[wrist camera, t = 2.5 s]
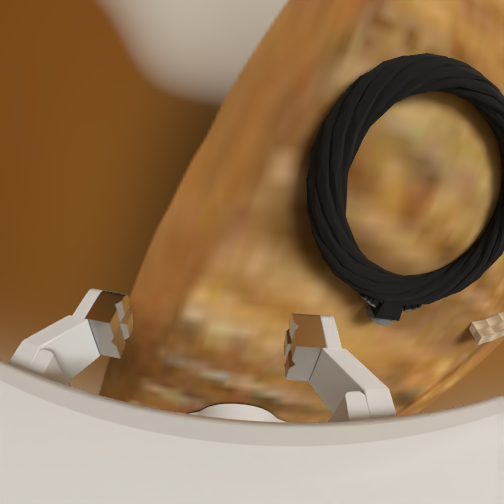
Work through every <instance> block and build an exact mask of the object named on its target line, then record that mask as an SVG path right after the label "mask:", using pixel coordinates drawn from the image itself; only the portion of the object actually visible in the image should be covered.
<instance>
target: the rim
mask: <svg viewBox="0 0 504 504" xmlns="http://www.w3.org/2000/svg"><path fill="white" fill-rule="evenodd" d="M469 330H470V332H471V333H472V335H473V337H474V339H475V340H476V342H477V344H481V343H485V342H489V341H492V340H494V339H497V338H499V337H501V336H504V311H503V312H501V313H499V314H497V315H495V316H492V317H490V318H487V319H484V320H479V321H474V322H472V323H471V325H470V327H469Z"/></svg>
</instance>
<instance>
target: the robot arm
mask: <svg viewBox="0 0 504 504" xmlns="http://www.w3.org/2000/svg"><path fill="white" fill-rule="evenodd" d="M129 305H130V299H129V296H128V295H126V294H120V293H115V292H110V291H103V290H98V289H90V290H89V291H88V292H87V294H86V296H85V297H84V298H83V300H82V301H81V303H80V305H79V306H78V308H77V309H76V311H75V312H74V314H73V315H72V316H70V315H69V316H67V317H65V318H63V319H61V320H59V321H57V322H56V323H54V324H52V325H50V326H48V327H47V328H45V329H43V330H41V331H39V332H38V333H36V334H34V335H32V336H30V337H29V338H27V339H25V340H23V341H22V343H21V344H20V346H19V347H18V349H17V350H16V352H15V354H14V355H13V357H12V358H11V360H10V362H9V363H6V362H4V361H2V360H0V504H504V397H503V396H497V397H493V398H489V399H486V400H483V401H479V402H475V403H471V404H467V405H462V406H458V407H453V408H448V409H443V410H438V411H433V412H427V413H421V414H414V415H407V416H400V417H397V416H396V412H395V409H394V405H393V402H392V398H391V395H390V391H389V389H388V388H387V387H386V386H385V385H384V384H383V383H382V382H381V381H380V380H379V379H378V378H376V377H375V376H374V375H373V374H372V373H371V372H370V371H369V370H368V369H367V368H366V367H365V366H364V365H363V364H361V363H360V362H359V361H358V360H357V359H356V358H355V357H354V356H353V355H352V354H351V353H350V352H349V351H347V350H346V349H342V347H341V343H340V339H339V335H338V331H337V327H336V323H335V319H334V317H333V316H330V315H307V314H291V316H290V319H289V329H288V330H287V331H286V335H285V341H284V356H285V357H286V358H287V359H286V363H285V376H286V380H298V381H309V383H310V384H311V386H312V387H313V389H314V390H315V391H316V393H317V394H318V395H319V397H320V398H321V399H322V401H323V402H324V403H325V405H326V406H327V407H328V409H329V410H330V411H331V413H332V414H333V415H332V417H331V418H330V420H329V421H328V422H311V423H298V422H285V421H283V420H280V419H277V418H276V417H275V416H274V415H272V414H271V413H270V412H268V411H266V410H264V409H261V408H258V407H254V406H250V405H243V404H219V405H214V406H210V407H207V408H205V409H203V410H201V411H199V412H194V413H189V414H185V413H179V412H173V411H167V410H162V409H156V408H151V407H146V406H142V405H137V404H132V403H128V402H124V401H120V400H116V399H112V398H108V397H104V396H100V395H97V394H93V393H90V392H86V391H83V390H80V389H76V388H73V387H71V386H70V384H69V383H68V382H69V381H70V380H71V379H72V378H73V377H75V376H76V375H77V374H78V373H79V372H81V371H82V370H83V369H84V368H86V367H87V366H88V365H89V364H91V363H92V362H93V361H94V360H95V359H96V358H98V357H99V356H100V355H105V356H110V357H115V358H121V356H122V353H123V351H124V349H125V346H126V344H125V339H127V338H128V337H130V334H131V332H132V327H133V314H132V312H131V311H130V310H129V308H128V307H129Z"/></svg>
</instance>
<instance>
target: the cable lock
mask: <svg viewBox="0 0 504 504" xmlns="http://www.w3.org/2000/svg"><path fill="white" fill-rule="evenodd" d="M428 91H441V92H446V93H451V94H455V95H457V96H459V97H461V98H463V99H465V100H467V101H469V102H471V103H472V104H474V106H475V107H476V108H477V109H478V110H479V111H480V112H481V113H482V114H483V115H484V117H485V118H486V119H487V120H488V122H489V123H490V125H491V127H492V129H493V131H494V133H495V135H496V138H497V140H498V142H499V147H500V152H501V158H502V164H503V177H502V186H501V195H500V200H499V202H498V205H497V207H496V210H495V212H494V215H493V217H492V220H491V222H490V224H489V226H488V228H487V230H486V232H485V233H484V234H483V236H481V238H480V239H479V240H478V241H477V242H476V244H475V245H474V246H473V247H472V248H471V249H470V251H469V252H468V253H467V254H466V255H465V256H463V257H461V258H460V259H458V260H456V261H455V262H453V263H451V264H450V265H448V266H446V267H445V268H443V269H440V270H438V271H434V272H430V273H425V274H420V275H409V276H402V275H397V274H395V273H392V272H389V271H387V270H384V269H382V268H381V267H379V266H378V265H376V264H374V263H373V262H371V261H370V260H368V259H367V258H366V257H365V256H364V255H363V253H362V252H361V251H360V249H359V247H358V245H357V244H356V242H355V240H354V237H353V235H352V232H351V230H350V227H349V225H348V222H347V219H346V200H347V178H348V172H349V168H350V166H351V164H352V162H353V159H354V157H355V155H356V153H357V151H358V149H359V147H360V144H361V142H362V140H363V138H364V136H365V135H366V133H367V131H368V129H369V128H370V126H371V125H372V124H373V123H375V122H376V121H377V120H378V119H379V118H380V117H381V116H382V115H383V114H384V113H385V112H386V111H387V110H388V109H389V108H390V107H391V106H392V105H393V104H395V103H397V102H399V101H401V100H403V99H405V98H407V97H409V96H411V95H414V94H419V93H424V92H428ZM307 201H308V213H309V217H310V221H311V225H312V233H313V235H314V238H315V240H316V242H317V245H318V247H319V250H320V252H321V254H322V257H323V259H324V260H325V262H326V263H327V264H328V266H329V267H330V269H331V270H332V272H333V273H334V274H335V275H336V276H337V277H339V278H340V279H341V280H343V281H344V282H345V283H347V284H348V285H349V286H351V287H352V288H353V289H354V290H355V291H357V292H358V294H359V296H360V297H362V299H364V300H365V301H366V302H367V303H368V304H369V306H368V307H367V308H366V313H367V315H368V316H369V318H370V319H372V320H373V321H374V322H376V323H377V324H380V325H383V326H388V325H390V324H391V323H392V322H393V320H397V321H399V319H400V316H401V313H402V309H403V311H405V312H409V311H410V309H411V308H412V310H416V309H417V307H418V308H421V305H423V304H430V303H432V302H435V301H437V300H440V299H442V298H444V297H447V296H449V295H452V294H455V293H457V292H460V291H462V290H463V289H465V288H466V287H468V286H469V285H470V284H472V283H473V282H475V281H476V280H478V279H479V278H480V277H481V276H482V274H483V273H484V272H485V271H486V270H487V269H488V268H489V267H490V266H491V265H492V264H493V263H494V262H495V261H496V260H497V259H498V258H499V257H500V256H501V255H502V253H503V251H504V96H503V94H502V93H501V92H500V90H499V89H498V88H497V87H496V86H495V85H494V84H493V83H491V82H490V81H489V80H488V79H486V78H485V77H484V76H483V75H482V74H481V73H480V72H478V71H477V70H475V69H474V68H473V67H471V66H470V65H468V64H467V63H464V62H461V61H458V60H456V59H453V58H448V57H445V56H440V55H434V54H428V53H425V54H417V55H410V56H401V57H398V58H394V59H391V60H387V61H384V62H382V63H381V64H379V65H378V66H377V67H375V68H374V69H373V70H371V71H370V72H368V73H366V74H364V75H362V76H360V77H359V78H358V79H357V80H356V81H355V82H354V83H353V84H352V85H351V86H350V87H349V88H348V89H347V90H346V92H345V93H344V94H343V95H342V96H341V97H340V98H339V100H338V102H337V103H336V105H335V106H334V108H333V109H332V110H331V112H330V113H329V115H328V116H327V117H326V119H325V120H324V122H323V124H322V126H321V128H320V131H319V133H318V136H317V138H316V141H315V143H314V145H313V148H312V150H311V158H310V167H309V171H308V175H307Z"/></svg>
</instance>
